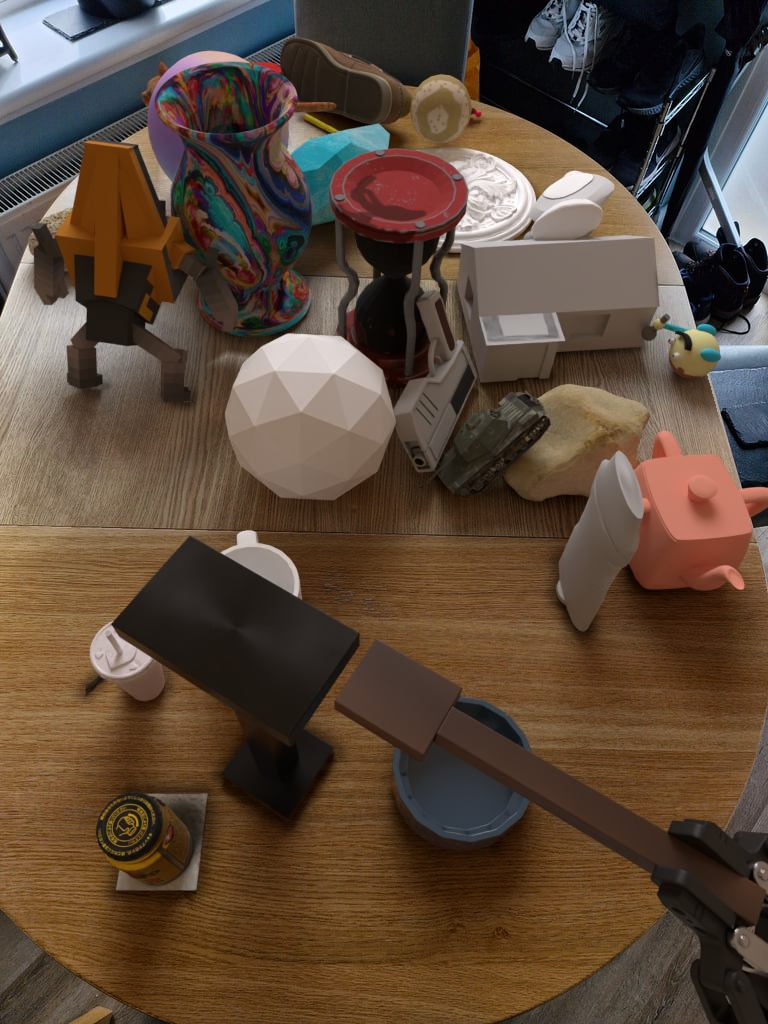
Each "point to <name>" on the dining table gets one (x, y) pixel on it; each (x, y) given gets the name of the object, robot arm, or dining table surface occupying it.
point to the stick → (93, 683)
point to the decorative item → (50, 227)
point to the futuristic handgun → (434, 389)
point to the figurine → (688, 347)
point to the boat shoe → (343, 82)
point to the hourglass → (394, 251)
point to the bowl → (458, 790)
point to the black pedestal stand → (246, 662)
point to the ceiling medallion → (488, 197)
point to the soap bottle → (570, 207)
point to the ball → (164, 139)
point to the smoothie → (126, 665)
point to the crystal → (334, 162)
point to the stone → (577, 442)
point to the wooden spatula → (519, 769)
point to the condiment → (153, 839)
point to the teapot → (692, 520)
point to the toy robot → (124, 266)
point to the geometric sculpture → (309, 416)
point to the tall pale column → (601, 540)
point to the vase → (241, 188)
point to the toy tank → (491, 443)
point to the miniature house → (554, 299)
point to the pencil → (319, 123)
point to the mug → (265, 561)
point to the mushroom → (440, 109)
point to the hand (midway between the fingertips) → (674, 851)
